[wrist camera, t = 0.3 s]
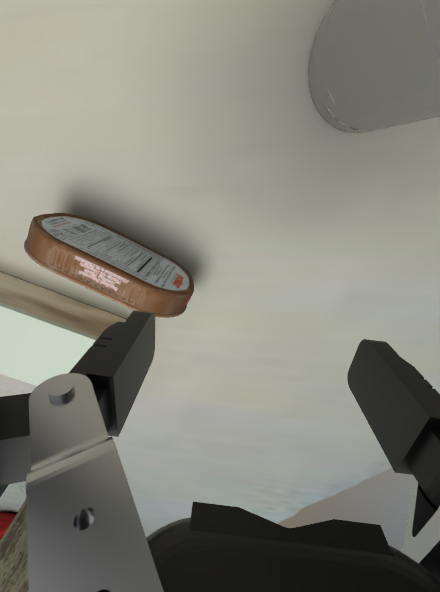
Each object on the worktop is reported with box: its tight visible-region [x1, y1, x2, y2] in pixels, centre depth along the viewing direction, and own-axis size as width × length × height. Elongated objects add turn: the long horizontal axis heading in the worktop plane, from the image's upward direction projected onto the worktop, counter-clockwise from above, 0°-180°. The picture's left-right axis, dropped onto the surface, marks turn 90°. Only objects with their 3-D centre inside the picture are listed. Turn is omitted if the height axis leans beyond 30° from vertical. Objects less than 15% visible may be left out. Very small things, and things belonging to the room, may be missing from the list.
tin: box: [24, 213, 194, 318], centre depth 24 cm, size 15×3×8 cm, turn 62°
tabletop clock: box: [0, 500, 29, 592], centre depth 39 cm, size 14×9×25 cm, turn 148°
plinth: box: [0, 272, 127, 386], centre depth 31 cm, size 10×22×5 cm, turn 67°
